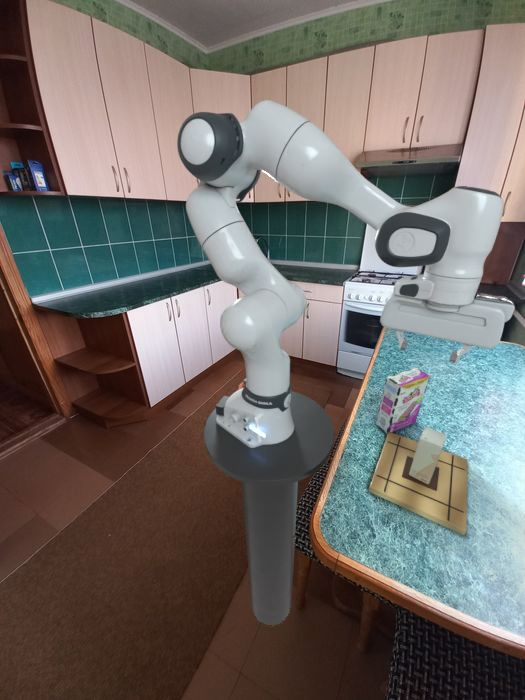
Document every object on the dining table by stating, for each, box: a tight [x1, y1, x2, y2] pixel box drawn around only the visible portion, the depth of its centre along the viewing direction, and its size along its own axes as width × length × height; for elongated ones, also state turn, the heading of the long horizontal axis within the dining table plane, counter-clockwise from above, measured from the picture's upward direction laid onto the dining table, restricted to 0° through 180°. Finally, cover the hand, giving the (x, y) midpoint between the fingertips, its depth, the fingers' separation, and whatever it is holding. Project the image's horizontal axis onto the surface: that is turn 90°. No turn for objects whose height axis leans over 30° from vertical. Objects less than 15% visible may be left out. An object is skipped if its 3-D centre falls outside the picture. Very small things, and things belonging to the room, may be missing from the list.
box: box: [409, 426, 448, 484], centre depth 64 cm, size 5×4×11 cm
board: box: [368, 432, 468, 536], centre depth 67 cm, size 18×20×2 cm
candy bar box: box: [375, 367, 431, 435], centre depth 79 cm, size 11×5×16 cm, turn 115°
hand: (426, 354), depth 59 cm, fingers open, 8 cm apart
